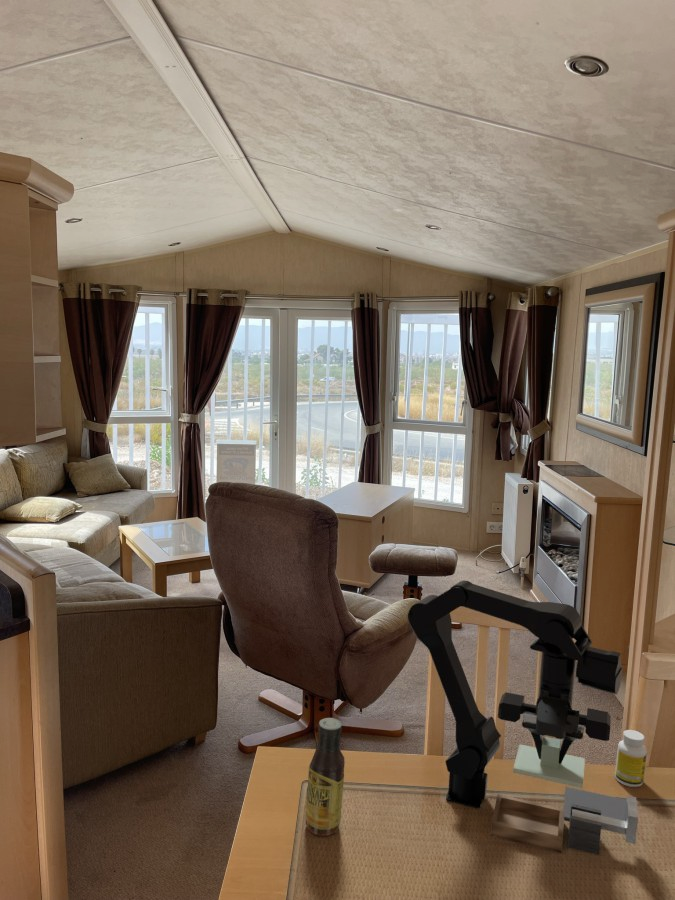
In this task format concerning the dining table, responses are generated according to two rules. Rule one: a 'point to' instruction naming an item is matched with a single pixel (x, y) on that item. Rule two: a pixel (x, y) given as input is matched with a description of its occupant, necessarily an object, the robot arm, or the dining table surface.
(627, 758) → the supplement bottle
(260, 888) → the dining table surface
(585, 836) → the lock block
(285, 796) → the dining table surface
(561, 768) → the cover
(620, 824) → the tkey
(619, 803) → the grey flat plate
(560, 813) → the case
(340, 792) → the sauce bottle
